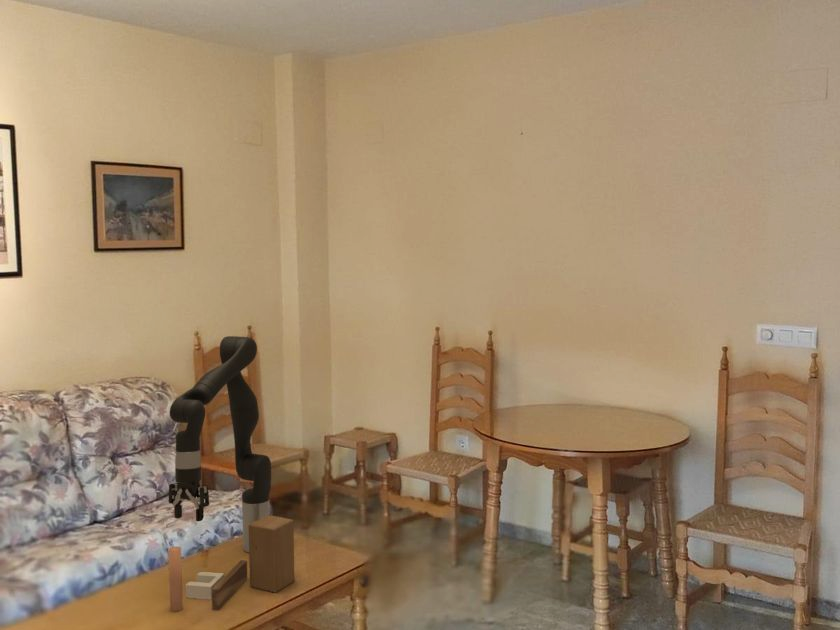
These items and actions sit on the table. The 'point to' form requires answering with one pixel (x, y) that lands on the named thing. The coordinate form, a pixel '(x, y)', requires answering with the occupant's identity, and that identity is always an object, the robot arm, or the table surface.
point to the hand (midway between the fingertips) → (188, 519)
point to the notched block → (203, 585)
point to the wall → (229, 585)
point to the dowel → (175, 579)
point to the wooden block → (271, 553)
